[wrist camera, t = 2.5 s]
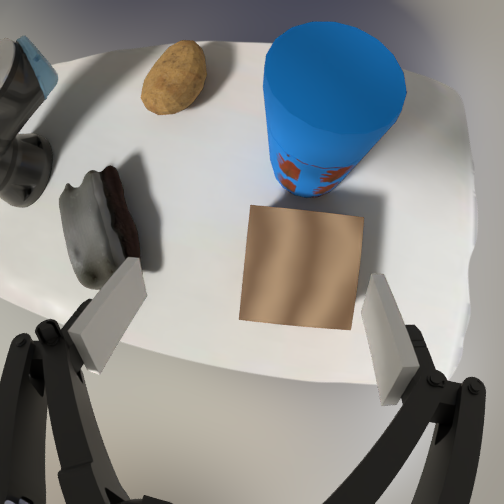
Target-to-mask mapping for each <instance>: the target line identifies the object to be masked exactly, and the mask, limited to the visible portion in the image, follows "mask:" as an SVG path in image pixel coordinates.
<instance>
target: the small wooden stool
mask: <svg viewBox="0 0 504 504" xmlns="http://www.w3.org/2000/svg"><path fill="white" fill-rule="evenodd" d="M363 224H364V217H357V216H349V215H341V214H333V213H324V212H315V211H306V210H297V209H288V208H278V207H267V206H256V205H250V214H249V223H248V233H247V243H246V253H245V263H244V273H243V283H242V293H241V303H240V313H239V320H245V321H254V322H263V323H272V324H282V325H292V326H303V327H314V328H327V329H341V330H351V326H352V320H353V313H354V306H355V299H356V292H357V284H358V276H359V268H360V258H361V248H362V237H363Z"/></svg>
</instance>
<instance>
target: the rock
mask: <svg viewBox="0 0 504 504" xmlns="http://www.w3.org/2000/svg"><path fill="white" fill-rule="evenodd" d="M59 208H60V213H61V219H62V226H63V232H64V236H65V241H66V245H67V250H68V255H69V258H70V261H71V264H72V267H73V270H74V272H75V274H76V276H77V278H78V280H79V282H80V283H81V284H82V285H83V286H85V287H87V288H89V289H95V290H101V288H102V287H103V286H104V285H105V284H106V282H107V281H108V280H109V279H110V278H111V276H112V275H113V274H114V273H115V272H116V270H117V269H118V268H119V267H120V266H121V265H122V264H123V262H124V261H125V260H126V259H127V258H128V257H134V258H139V260H140V247H139V240H138V233H137V229H136V226H135V224H134V221H133V219H132V217H131V215H130V213H129V211H128V209H127V206H126V202H125V199H124V191H123V187H122V183H121V180H120V178H119V175H118V172H117V170H116V168H115V167H113V166H111V165H110V166H107V167H106V168H105V169H104V170H103V171H101V172H97V171H95V170H91V171H89V172H88V173H87V174H86V175H85V177H84V179H83V182H82V184H81V185H80V187H78V188H74V187H72V186H71V185H70V184H69V183H68V184H66V186H65V189H64V191H63V192H62V194H61V196H60V198H59ZM140 265H141V262H140ZM141 270H142V267H141ZM142 274H143V273H142Z"/></svg>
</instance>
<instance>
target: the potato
mask: <svg viewBox="0 0 504 504" xmlns="http://www.w3.org/2000/svg"><path fill="white" fill-rule="evenodd" d="M206 76H207V73H206V63H205V56H204V53H203V50H202V48H201V47H200V46H199V45H198V44H197V43H196V42H195V41H190V40H182V41H179V42H177V43H176V44H174V45H172V46H170V47H169V48H168V49H167V50H166V51H165V52H164V53H163V55H162V56H161V57H160V58H159V59H158V60H157V62H156V63H155V64H154V66H153V67H152V69H151V70H150V71H149V73H148V75H147V76H146V78H145V80H144V83H143V88H142V94H141V99H142V101H143V103H144V105H145V107H146V108H147V110H149V111H151V112H153V113H155V114H157V115H167V114H175V113H177V112H180V111H182V110H184V109H186V108H187V107H188V106H189V105H190V104H192V103H193V101H194V100H195V99H196V97H197V96H198V95H199V93H200V92H201V90H202V89H203V86H204V81H205V78H206Z"/></svg>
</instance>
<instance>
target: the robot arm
mask: <svg viewBox="0 0 504 504" xmlns="http://www.w3.org/2000/svg"><path fill="white" fill-rule="evenodd" d="M57 82H58V74H57V73H56V71H55V70H54V68H53V67H52V66H51V65H50V63H49V62H48V61H47V60H46V58H45V57H44V56H43V55H42V54H41V52H40V51H39V50H38V49H37V48H36V46H35V45H34V44H33V43H32V42H31V41H30V40H29V39H28V38H27V37H26V36H21V38H19V39H17V41H16V42H13V41H12V40H10V39H8V38H4V39H1V40H0V198H1V199H3V200H4V201H5V202H7V203H8V204H10V205H12V206H15V207H22V208H23V207H28V206H30V205H31V204H33V203H34V202H35V201H36V200H37V199H38V198H39V196H40V195H41V194H42V192H43V190H44V188H45V186H46V184H47V182H48V179H49V176H50V172H51V167H52V150H51V146H50V144H49V142H48V141H47V140H46V139H45V138H44V137H42V136H39V135H37V134H33V133H31V134H18V133H19V131H20V130H21V129H22V127H23V126H24V125H25V124H26V122H27V121H28V120H29V118H30V117H31V116H32V115H33V113H34V112H35V111H36V110H37V109H38V107H39V106H40V105H41V104H42V103H43V102H44V100H46V99H47V96H48V95H49V94H50V92H51V91H52V90H53V89H54V87H55V86H56V84H57ZM146 297H147V293H146V288H145V284H144V279H143V274H142V270H141V265H140V260H139V258H134V257H128V258H127V259H126V260H125V261H124V262H123V264H122V265H121V266H120V267H119V268H118V269H117V270H116V272H115V273H114V274H113V275H112V276H111V278H110V279H109V280H108V281H107V282H106V284H105V285H104V286H103V287H102V288H101V290H100V291H99V292H98V293H97V294H96V296H95V297H94V298H93V299H88V300H86V301H85V302H83V303H82V304H81V305H80V306H79V307H78V309H77V311H75V312H74V314H73V316H71V317H70V319H69V320H68V321H67V322H66V324H65V325H64V327H63V328H62V329H60V327H59V325H58V323H57V321H55V320H52V319H49V320H45V321H43V322H41V323H40V324H39V325H38V326H37V327H36V330H35V333H36V335H37V337H38V339H39V341H33V340H32V339H31V337H30V335H29V334H27V333H22V334H19V335H17V336H16V337H15V338H14V339H13V340H12V342H11V345H10V348H9V352H8V355H7V358H6V362H5V366H4V369H3V373H2V377H1V381H0V504H46V484H45V437H46V419H47V407H48V409H49V415H50V421H51V426H52V431H53V435H54V440H55V445H56V449H57V453H58V457H59V461H60V465H61V470H60V471H59V472H58V479H59V483H60V486H61V489H62V493H63V495H64V499H65V502H66V504H172V503H170V502H167V501H163V500H159V499H156V498H153V497H149V496H146V495H144V496H143V499H132V500H130V498H129V496H128V495H127V493H126V492H125V490H124V489H123V488H122V486H121V484H120V483H119V480H118V478H117V476H116V474H115V471H114V469H113V466H112V464H111V461H110V459H109V456H108V454H107V451H106V449H105V446H104V443H103V440H102V437H101V434H100V431H99V428H98V425H97V422H96V419H95V416H94V413H93V409H92V406H91V402H90V399H89V395H88V391H87V387H86V384H85V380H84V376H83V373H82V371H81V367H82V365H83V364H84V365H85V366H86V368H87V370H88V371H90V372H93V373H96V374H101V372H102V370H103V369H104V367H105V365H106V363H107V361H108V360H109V358H110V356H111V355H112V353H113V351H114V349H115V348H116V346H117V344H118V343H119V341H120V339H121V338H122V336H123V334H124V333H125V331H126V329H127V328H128V326H129V324H130V323H131V321H132V319H133V318H134V316H135V315H136V313H137V311H138V310H139V308H140V307H141V305H142V303H143V302H144V300H145V299H146ZM361 314H362V318H363V322H364V327H365V331H366V335H367V339H368V343H369V348H370V352H371V357H372V361H373V366H374V371H375V376H376V381H377V386H378V391H379V396H380V402H381V406H388V405H397V403H398V402H399V400H400V398H401V399H402V403H403V405H402V407H401V408H400V410H399V411H398V413H397V414H396V416H395V418H394V419H393V420H392V422H391V423H390V425H389V426H388V427H387V429H386V430H385V431H384V433H383V434H382V436H381V437H380V438H379V440H378V441H377V442H376V443H375V445H374V446H373V447H372V449H371V450H370V451H369V452H368V454H367V455H366V456H365V457H364V459H363V460H362V461H361V462H360V463H359V465H358V466H357V467H356V468H355V469H354V470H353V472H352V473H351V474H350V475H349V476H348V477H347V478H346V480H345V481H344V482H343V483H342V484H341V485H340V486H339V487H338V488H337V489H336V490H335V492H333V493H332V495H331V496H330V497H329V498H328V499H327V500H326V501H325V502H324V503H323V504H375V502H376V501H377V500H378V499H379V498H380V496H381V495H382V494H383V492H384V491H385V490H386V489H387V487H388V486H389V485H390V483H391V482H392V480H393V479H394V478H395V476H396V475H397V473H398V472H399V470H400V469H401V467H402V466H403V465H404V463H405V461H406V460H407V459H408V457H409V455H410V454H411V452H412V450H413V449H414V447H415V446H416V444H417V442H418V441H419V439H420V437H421V436H422V434H423V432H424V430H425V429H426V426H427V425H428V423H429V422H432V423H436V425H435V429H434V433H433V437H432V441H431V445H430V449H429V452H428V456H427V459H426V463H425V466H424V469H423V472H422V475H421V478H420V481H419V484H418V487H417V490H416V492H415V495H414V498H413V500H412V503H411V504H469V503H470V498H471V495H472V491H473V486H474V481H475V477H476V473H477V467H478V462H479V456H480V449H481V442H482V434H483V426H484V415H485V399H486V398H485V397H486V389H485V386H484V384H483V383H482V382H481V381H480V380H479V379H477V378H475V377H468V378H466V379H465V380H464V381H463V383H462V384H461V383H456V382H451V381H448V380H447V378H446V377H445V375H444V374H443V373H441V372H440V371H438V370H436V369H435V366H434V364H433V361H432V358H431V356H430V353H429V351H428V348H427V345H426V343H425V341H424V338H423V336H422V333H421V331H420V330H419V329H418V328H417V327H416V326H415V325H405V324H404V321H403V319H402V316H401V314H400V311H399V309H398V306H397V304H396V301H395V299H394V296H393V294H392V292H391V289H390V287H389V285H388V282H387V280H386V278H385V275H384V274H372V273H371V276H370V280H369V284H368V288H367V292H366V296H365V300H364V304H363V307H362V311H361Z"/></svg>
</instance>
